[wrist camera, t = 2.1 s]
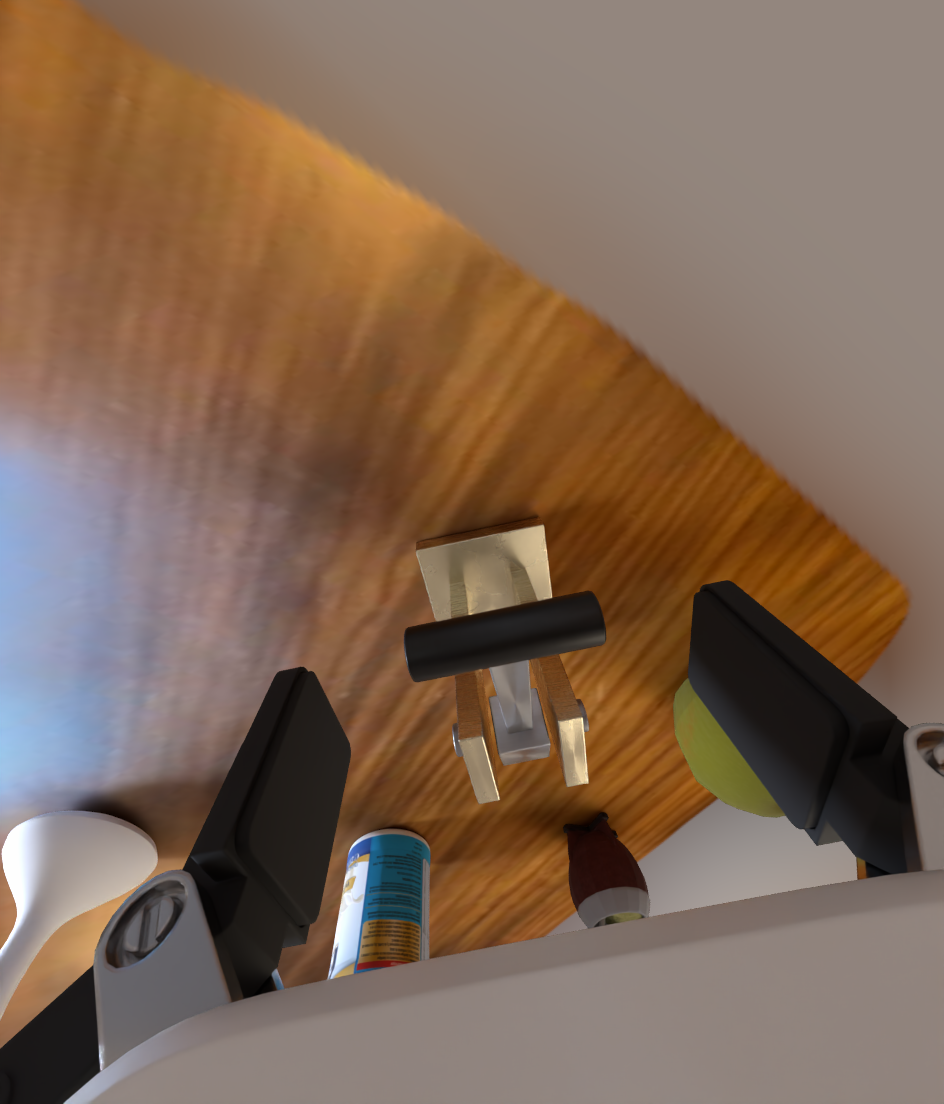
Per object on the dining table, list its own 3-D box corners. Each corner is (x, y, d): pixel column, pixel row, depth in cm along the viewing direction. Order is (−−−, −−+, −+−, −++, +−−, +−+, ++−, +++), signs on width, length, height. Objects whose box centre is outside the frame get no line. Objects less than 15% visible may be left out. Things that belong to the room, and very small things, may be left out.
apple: (646, 729, 37) (721, 871, 27) (658, 645, 32) (755, 780, 22) (755, 714, 37) (869, 849, 27) (783, 629, 32) (933, 755, 23)
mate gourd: (634, 815, 43) (723, 1028, 30) (598, 855, 46) (662, 1063, 33) (572, 805, 41) (637, 1027, 28) (538, 847, 45) (582, 1064, 31)
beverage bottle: (443, 857, 44) (450, 1208, 26) (371, 877, 45) (329, 1232, 27) (412, 815, 40) (394, 1195, 22) (332, 839, 41) (255, 1224, 23)
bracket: (416, 541, 26) (402, 699, 15) (539, 516, 26) (619, 656, 15) (449, 658, 31) (458, 844, 20) (554, 636, 31) (623, 812, 20)
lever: (400, 602, 11) (405, 691, 10) (585, 564, 11) (617, 648, 10) (466, 718, 21) (474, 771, 19) (564, 699, 21) (579, 751, 19)
